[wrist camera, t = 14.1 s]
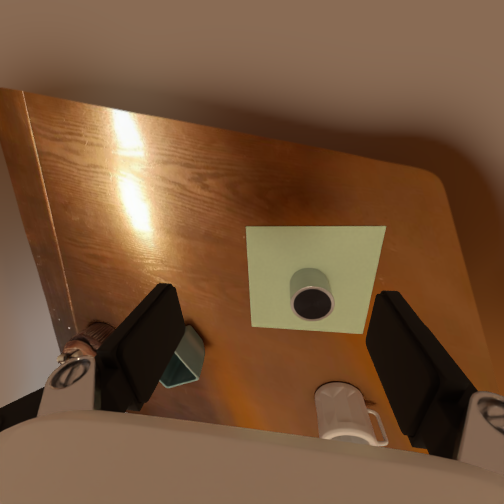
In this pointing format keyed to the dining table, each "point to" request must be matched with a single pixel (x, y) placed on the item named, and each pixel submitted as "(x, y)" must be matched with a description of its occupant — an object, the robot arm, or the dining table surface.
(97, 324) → the cupcake
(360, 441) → the mug
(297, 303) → the steel pot
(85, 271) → the dining table surface
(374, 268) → the trivet mat
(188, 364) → the flower pot
